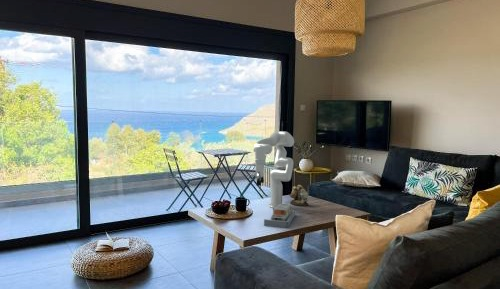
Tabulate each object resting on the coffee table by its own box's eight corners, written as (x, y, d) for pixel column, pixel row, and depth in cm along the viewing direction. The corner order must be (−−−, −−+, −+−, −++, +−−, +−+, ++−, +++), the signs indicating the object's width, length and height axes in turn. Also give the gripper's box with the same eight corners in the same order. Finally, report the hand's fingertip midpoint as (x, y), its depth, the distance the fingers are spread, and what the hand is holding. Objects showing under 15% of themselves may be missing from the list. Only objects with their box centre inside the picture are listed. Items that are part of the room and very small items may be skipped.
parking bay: (273, 213, 291) (273, 208, 291) (294, 214, 287) (294, 209, 286) (264, 225, 260) (264, 219, 260) (287, 227, 256) (288, 222, 256)
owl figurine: (286, 204, 319) (286, 184, 318) (292, 201, 329) (293, 182, 327) (305, 207, 309) (305, 187, 307) (311, 204, 318) (311, 185, 317)
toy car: (270, 224, 263) (270, 210, 262) (278, 215, 286) (279, 202, 285) (284, 226, 260) (285, 212, 259) (292, 216, 283) (292, 203, 282)
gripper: (258, 159, 286) (258, 181, 288) (252, 163, 269) (252, 186, 271) (267, 160, 284) (267, 181, 286) (262, 164, 267) (262, 187, 270)
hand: (260, 184), depth 279 cm, fingers open, 9 cm apart
